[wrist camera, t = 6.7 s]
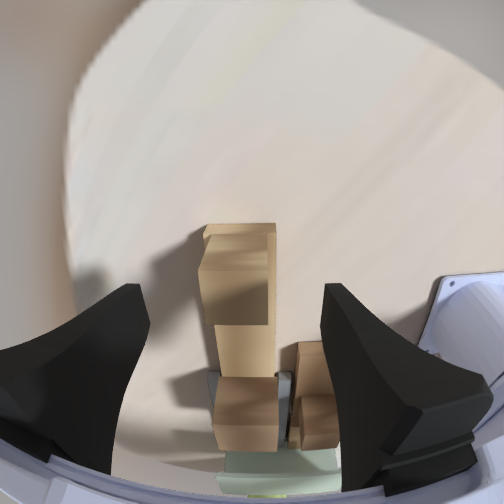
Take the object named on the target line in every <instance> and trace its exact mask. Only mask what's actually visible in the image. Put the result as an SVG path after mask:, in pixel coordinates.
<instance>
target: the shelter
mask: <svg viewBox="0 0 504 504" xmlns="http://www.w3.org/2000/svg"><path fill="white" fill-rule="evenodd" d="M215 478H216V480H217V482H218V484H219V486H220V489H221V491H222V492H223V494H236V495H291V494H307V493H318V492H328V491H335V490H339V489H340V488H341V486H342V477H341V469H338V467H337V460H336V452H335V448H332V449H322V450H310V451H301V449H288V444H287V441H284V447H277V452H246V451H226V458H225V468H224V473H223V472H215Z"/></svg>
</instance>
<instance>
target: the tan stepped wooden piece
mask: <svg viewBox="0 0 504 504" xmlns="http://www.w3.org/2000/svg"><path fill="white" fill-rule="evenodd" d="M203 240H204V249H205V253H204V255H203V258H202V261H201V263H200V266H199V268H198V278H199V285H200V292H201V299H202V305H203V312H204V318H205V324H206V325H214V328H215V334H216V341H217V348H218V354H219V361H220V367H221V373H222V376H224V377H274V368H275V325H276V225H275V223H250V224H208V225H207V227H206V229H205V231H204V233H203Z"/></svg>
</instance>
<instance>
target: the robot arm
mask: <svg viewBox="0 0 504 504" xmlns="http://www.w3.org/2000/svg"><path fill="white" fill-rule="evenodd" d="M451 282H452V283H451ZM450 283H451V284H450ZM149 328H150V320H149V317H148V313H147V310H146V306H145V302H144V299H143V295H142V291H141V287H140V284H125V285H123V286H121V287H119V288H118V289H116V290H115V291H113V292H112V293H110V294H109V295H107V296H106V297H104V298H103V299H102V300H100V301H99V302H97V303H96V304H94V305H93V306H91V307H90V308H89V309H87V310H85V311H84V312H82V313H81V314H79V315H78V316H76V317H75V318H73V319H72V320H70V321H68V322H67V323H65V324H63V325H61V326H60V327H58V328H56V329H54V330H52V331H50V332H48V333H46V334H44V335H41V336H39V337H37V338H35V339H32V340H30V341H28V342H25V343H22V344H19V345H16V346H13V347H10V348H7V349H3V350H0V490H1V491H2V492H4V493H5V494H7V495H8V496H9V497H11V498H12V499H13V500H15V501H16V502H18V503H19V504H504V272H496V273H484V274H471V275H457V276H446V277H444V278H443V279H442V280H441V282H440V285H439V288H438V291H437V294H436V297H435V301H434V304H433V307H432V309H431V312H430V315H429V318H428V321H427V323H426V326H425V329H424V331H423V334H422V337H421V339H420V342H419V344H418V347H417V346H415V345H414V344H412V343H411V342H409V341H407V340H406V339H405V338H403V337H402V336H400V335H399V334H397V333H396V332H394V331H393V330H392V329H390V328H389V327H388V326H387V325H386V324H384V323H383V322H382V321H381V320H379V319H378V318H377V317H376V316H375V315H374V314H373V313H371V312H370V311H369V310H368V309H367V308H366V307H365V306H364V305H363V304H362V303H361V302H360V301H359V300H358V299H357V298H356V297H355V296H354V295H353V294H352V293H351V292H350V291H349V290H348V289H347V288H345V287H344V286H343V285H342V284H341V283H327V284H325V289H324V298H323V307H322V315H321V322H320V329H321V337H322V345H323V350H324V354H325V358H326V362H327V366H328V370H329V374H330V378H331V382H332V386H333V390H334V394H335V399H336V405H337V413H338V422H339V434H340V447H341V477H342V490H341V493H335V494H327V495H317V496H305V497H286V498H244V497H226V496H213V495H204V494H196V493H188V492H181V491H175V490H170V489H164V488H158V487H154V486H149V485H145V484H140V483H136V482H132V481H128V480H124V479H121V478H117V477H114V476H111V463H112V451H113V445H114V438H115V432H116V427H117V422H118V417H119V412H120V408H121V405H122V401H123V397H124V394H125V391H126V388H127V385H128V383H129V381H130V378H131V376H132V373H133V371H134V369H135V366H136V364H137V362H138V360H139V357H140V355H141V352H142V350H143V348H144V345H145V342H146V339H147V335H148V332H149ZM436 353H440V355H441V357H442V358H443V360H442V359H440V358H438V357H436V356H433V355H431V354H436Z"/></svg>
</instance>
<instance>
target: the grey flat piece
mask: <svg viewBox="0 0 504 504" xmlns="http://www.w3.org/2000/svg"><path fill="white" fill-rule="evenodd" d="M219 376H221V372H219V371H209V374H208V379H207V381H208V385H209V390H210V394H211V398H212V402H213V407H214V405H215V398H216V392H217V385H218V378H219ZM290 388H291V372H278V408H279V432H278V444H277V447H284V441H285V433H286V425H287V416H288V407H289V398H290ZM287 444H288V449H301V442H300V428H299V417H292V415H290V422H289V430H288V437H287Z"/></svg>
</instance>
